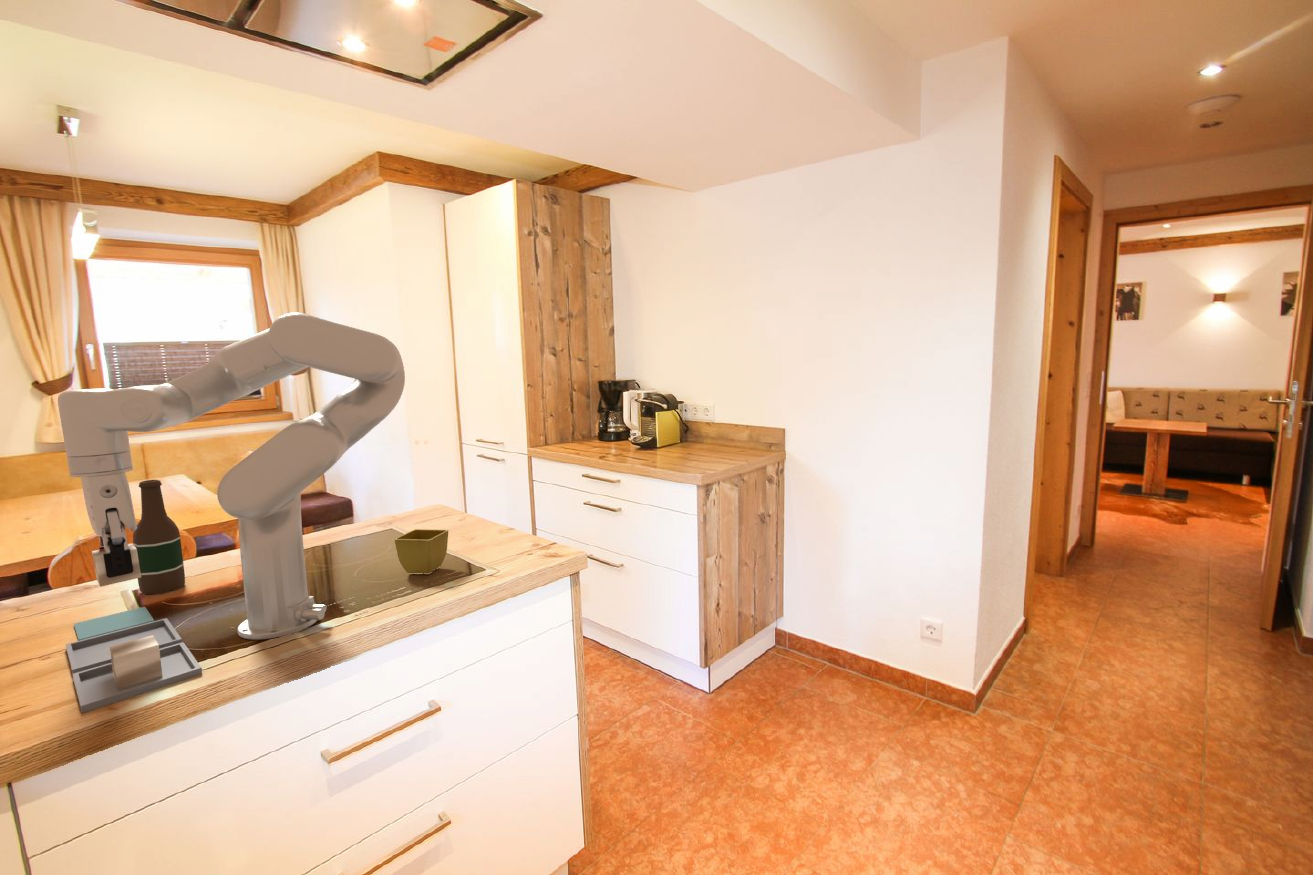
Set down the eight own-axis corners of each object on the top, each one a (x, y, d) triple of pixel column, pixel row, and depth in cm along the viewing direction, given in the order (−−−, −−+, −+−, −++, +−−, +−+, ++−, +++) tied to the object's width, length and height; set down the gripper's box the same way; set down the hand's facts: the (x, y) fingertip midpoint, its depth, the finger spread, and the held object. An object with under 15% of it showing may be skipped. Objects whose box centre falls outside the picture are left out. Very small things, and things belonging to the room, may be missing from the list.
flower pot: (417, 564, 138) (414, 528, 137) (451, 565, 137) (449, 529, 136) (396, 577, 130) (393, 539, 129) (432, 579, 129) (429, 540, 128)
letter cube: (141, 577, 97) (136, 547, 96) (100, 586, 93) (95, 555, 92) (136, 571, 100) (131, 542, 99) (96, 579, 96) (91, 550, 96)
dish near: (202, 676, 88) (201, 667, 88) (82, 715, 79) (80, 706, 78) (184, 649, 97) (183, 641, 97) (73, 682, 87) (72, 673, 87)
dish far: (182, 646, 98) (181, 638, 98) (73, 678, 88) (72, 669, 88) (167, 625, 107) (166, 617, 107) (66, 651, 97) (65, 644, 97)
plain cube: (162, 675, 88) (158, 644, 87) (118, 689, 84) (113, 657, 84) (156, 665, 91) (152, 635, 91) (113, 677, 88) (109, 646, 87)
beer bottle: (158, 596, 121) (144, 484, 118) (129, 594, 123) (115, 483, 120) (195, 583, 129) (182, 477, 126) (167, 581, 130) (154, 476, 127)
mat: (154, 624, 107) (154, 620, 107) (79, 643, 100) (78, 639, 100) (145, 610, 114) (145, 606, 114) (74, 627, 106) (73, 623, 106)
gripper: (139, 465, 91) (156, 575, 93) (124, 457, 102) (139, 555, 105) (73, 473, 86) (92, 590, 88) (64, 463, 97) (81, 567, 99)
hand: (117, 570), depth 96 cm, fingers closed on letter cube, 4 cm apart
